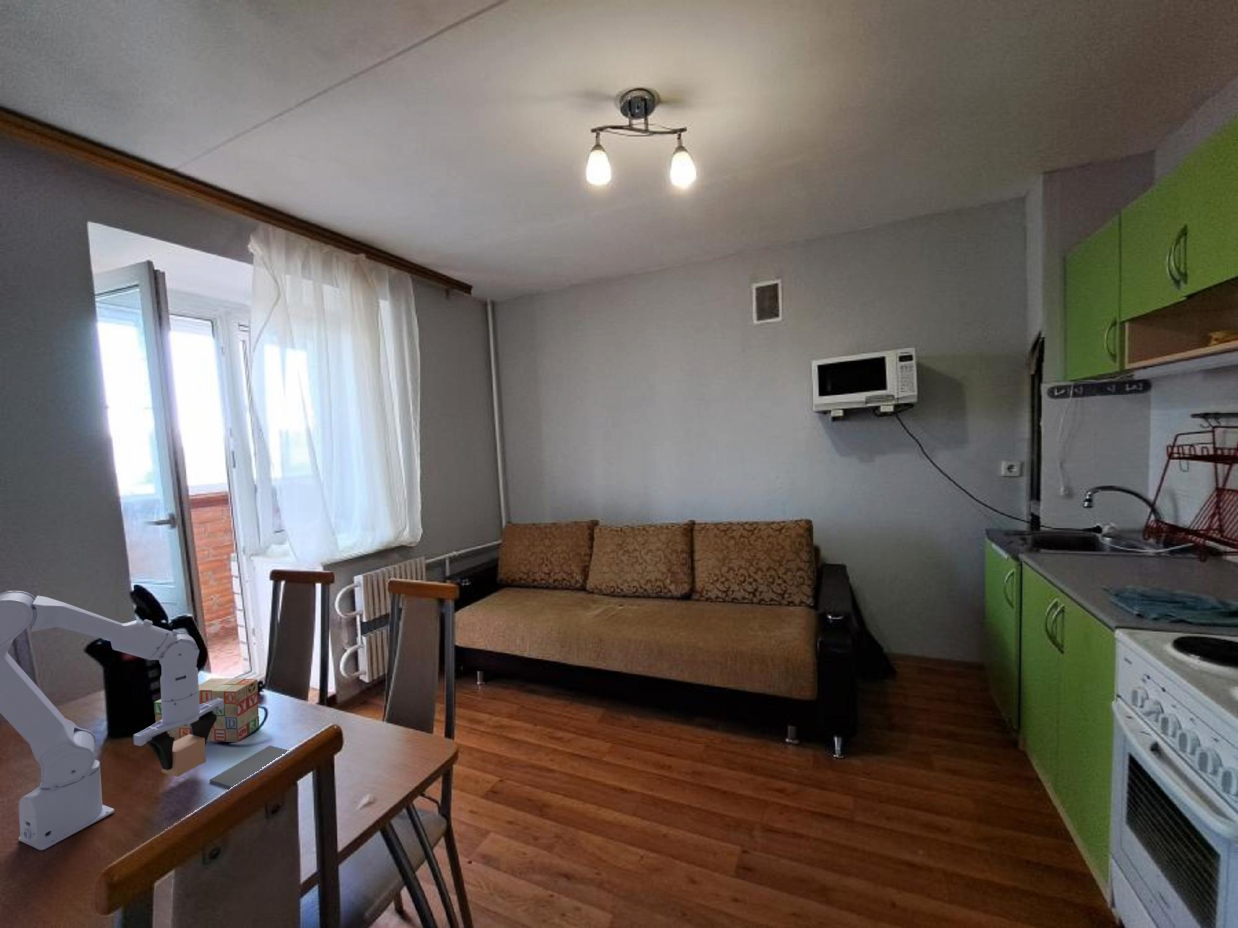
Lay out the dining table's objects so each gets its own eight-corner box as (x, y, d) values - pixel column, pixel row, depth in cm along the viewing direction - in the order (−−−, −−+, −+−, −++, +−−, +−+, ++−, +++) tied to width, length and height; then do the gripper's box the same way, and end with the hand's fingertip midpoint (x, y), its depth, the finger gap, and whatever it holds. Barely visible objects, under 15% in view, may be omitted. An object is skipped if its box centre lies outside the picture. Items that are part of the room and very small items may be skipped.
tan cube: (177, 776, 96) (175, 752, 96) (161, 771, 98) (160, 747, 98) (205, 761, 101) (204, 738, 101) (190, 757, 102) (189, 733, 102)
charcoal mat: (249, 794, 94) (249, 791, 94) (209, 782, 98) (209, 779, 98) (307, 757, 105) (307, 754, 105) (269, 747, 110) (269, 745, 110)
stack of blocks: (155, 740, 114) (152, 689, 114) (181, 725, 121) (178, 676, 120) (238, 742, 112) (235, 690, 112) (260, 727, 119) (257, 677, 118)
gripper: (147, 716, 91) (151, 786, 91) (232, 681, 104) (235, 742, 105) (125, 710, 93) (129, 779, 93) (210, 676, 107) (213, 737, 107)
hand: (183, 759), depth 99 cm, fingers closed on tan cube, 5 cm apart
